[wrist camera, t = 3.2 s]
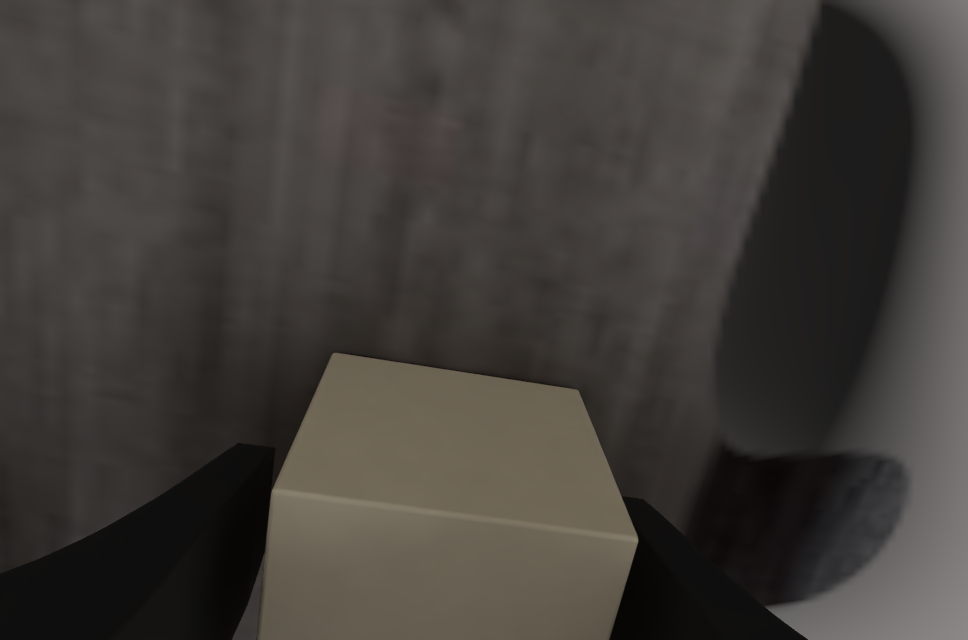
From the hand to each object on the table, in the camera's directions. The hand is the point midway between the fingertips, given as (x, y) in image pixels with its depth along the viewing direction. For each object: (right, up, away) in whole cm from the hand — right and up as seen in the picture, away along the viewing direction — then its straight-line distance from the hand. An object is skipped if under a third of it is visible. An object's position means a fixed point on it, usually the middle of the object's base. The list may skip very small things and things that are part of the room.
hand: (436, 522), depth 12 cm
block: (0, 0, +1) cm, 1 cm away
